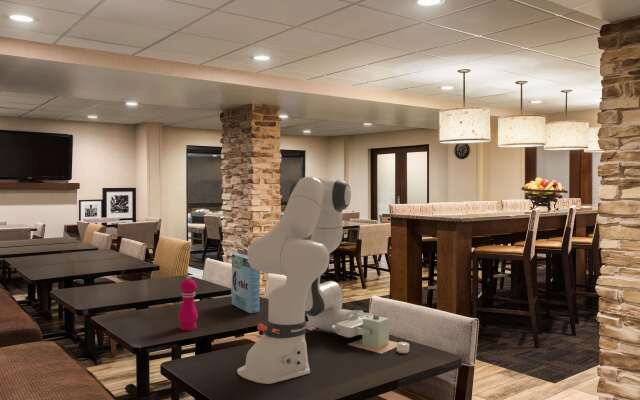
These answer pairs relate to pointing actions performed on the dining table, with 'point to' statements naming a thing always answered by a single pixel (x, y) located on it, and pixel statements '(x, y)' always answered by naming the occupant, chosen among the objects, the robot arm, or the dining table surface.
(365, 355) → the dining table surface
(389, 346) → the mat
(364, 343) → the pale green square canister
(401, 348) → the cream short cylinder
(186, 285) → the pepper mill
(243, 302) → the gum box
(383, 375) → the dining table surface
